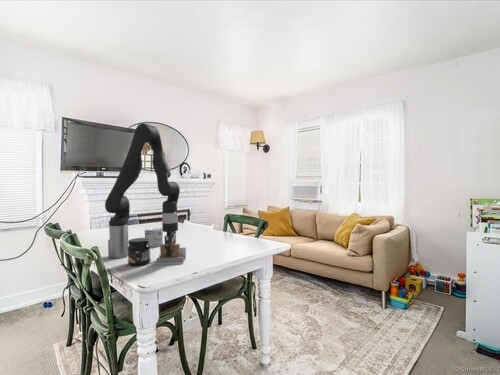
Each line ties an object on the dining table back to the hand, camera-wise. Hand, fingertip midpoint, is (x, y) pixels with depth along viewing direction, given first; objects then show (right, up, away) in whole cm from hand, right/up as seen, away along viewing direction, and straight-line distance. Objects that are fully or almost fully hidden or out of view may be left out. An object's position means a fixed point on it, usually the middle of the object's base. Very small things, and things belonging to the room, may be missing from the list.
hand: (170, 254), depth 137 cm
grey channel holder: (0, -4, +1) cm, 4 cm away
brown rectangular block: (-1, -3, +1) cm, 4 cm away
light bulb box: (-21, -4, +36) cm, 42 cm away
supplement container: (-16, -5, -1) cm, 16 cm away
